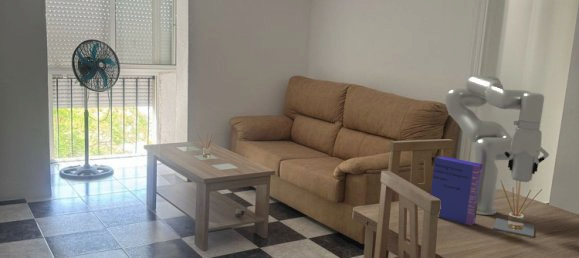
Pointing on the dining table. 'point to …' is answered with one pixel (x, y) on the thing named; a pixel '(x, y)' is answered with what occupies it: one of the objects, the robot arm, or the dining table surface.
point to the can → (522, 167)
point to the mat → (502, 226)
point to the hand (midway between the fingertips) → (522, 171)
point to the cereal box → (457, 188)
